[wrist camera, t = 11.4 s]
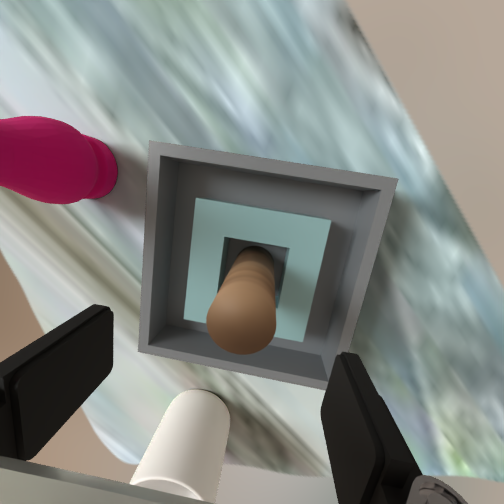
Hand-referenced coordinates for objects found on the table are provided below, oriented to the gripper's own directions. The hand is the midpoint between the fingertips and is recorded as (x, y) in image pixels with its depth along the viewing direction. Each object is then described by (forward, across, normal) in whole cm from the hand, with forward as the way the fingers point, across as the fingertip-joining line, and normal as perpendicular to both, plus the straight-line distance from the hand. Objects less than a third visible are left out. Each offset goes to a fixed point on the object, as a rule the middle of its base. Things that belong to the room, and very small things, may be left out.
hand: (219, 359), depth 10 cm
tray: (+17, 0, +1) cm, 17 cm away
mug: (+17, +5, +24) cm, 29 cm away
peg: (+16, 0, +1) cm, 16 cm away
